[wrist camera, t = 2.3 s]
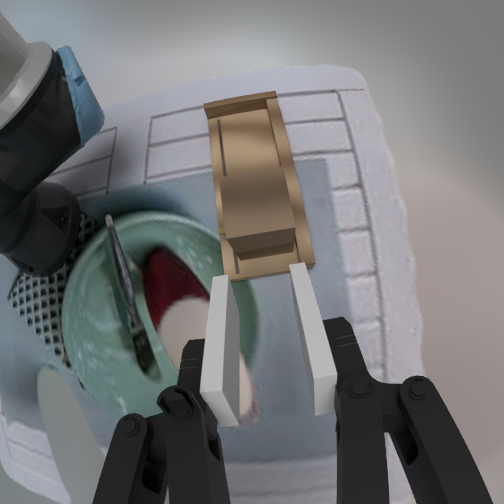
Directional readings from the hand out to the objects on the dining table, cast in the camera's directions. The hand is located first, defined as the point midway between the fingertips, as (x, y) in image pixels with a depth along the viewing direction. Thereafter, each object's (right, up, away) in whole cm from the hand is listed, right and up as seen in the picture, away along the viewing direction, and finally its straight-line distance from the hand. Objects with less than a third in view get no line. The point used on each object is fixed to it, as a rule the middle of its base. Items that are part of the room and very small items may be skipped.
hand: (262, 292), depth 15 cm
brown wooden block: (+1, +4, +20) cm, 21 cm away
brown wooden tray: (0, +11, +24) cm, 26 cm away
